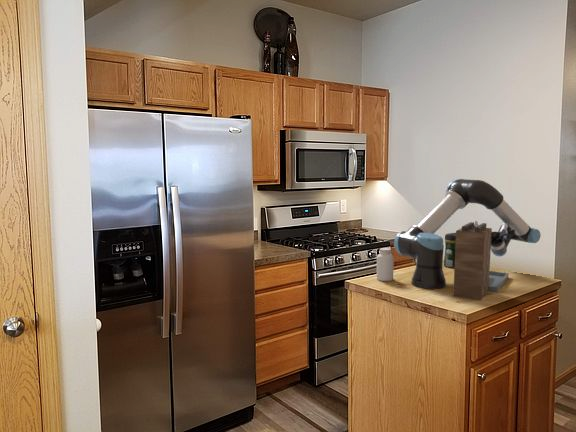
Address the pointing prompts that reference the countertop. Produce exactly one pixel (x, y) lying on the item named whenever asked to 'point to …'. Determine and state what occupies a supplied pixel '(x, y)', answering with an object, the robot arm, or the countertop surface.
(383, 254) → the pill bottle
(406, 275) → the countertop surface
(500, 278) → the slate tray
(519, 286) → the countertop surface
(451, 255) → the coffee jar
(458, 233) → the walnut stand
